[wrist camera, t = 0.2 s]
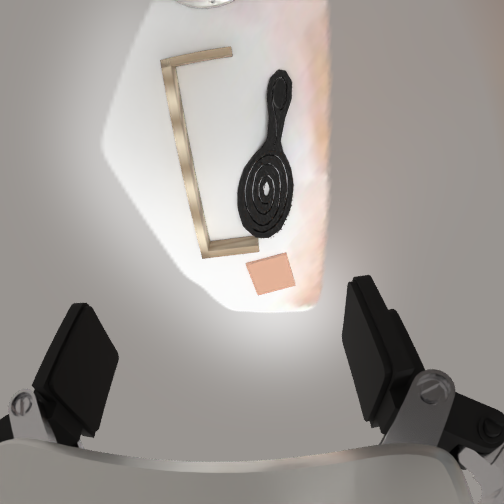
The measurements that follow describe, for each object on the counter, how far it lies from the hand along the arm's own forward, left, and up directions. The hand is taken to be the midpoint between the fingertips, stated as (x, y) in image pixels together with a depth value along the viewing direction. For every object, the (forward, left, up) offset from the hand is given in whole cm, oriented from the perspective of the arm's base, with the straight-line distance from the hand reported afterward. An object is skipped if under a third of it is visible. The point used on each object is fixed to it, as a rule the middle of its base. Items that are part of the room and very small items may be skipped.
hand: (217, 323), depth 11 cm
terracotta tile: (+26, +2, -37) cm, 45 cm away
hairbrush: (+5, +4, -37) cm, 37 cm away
